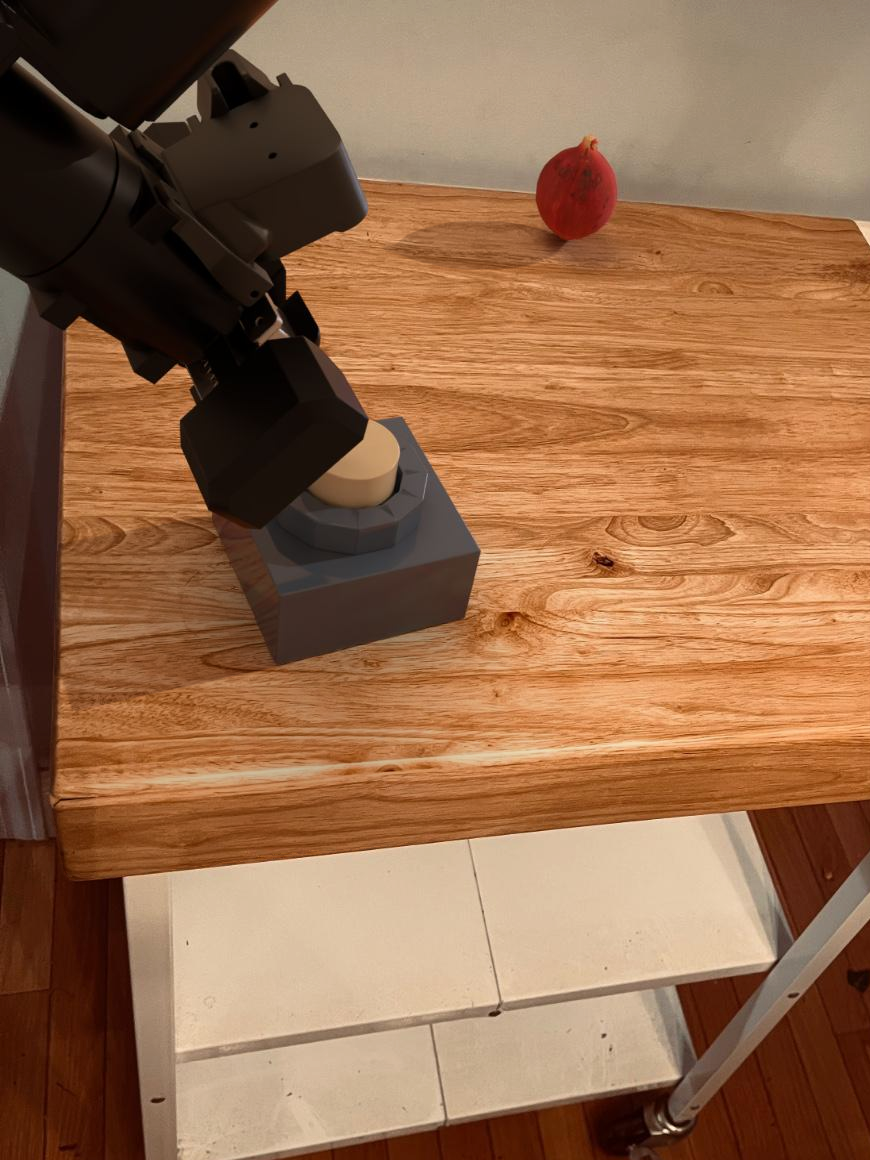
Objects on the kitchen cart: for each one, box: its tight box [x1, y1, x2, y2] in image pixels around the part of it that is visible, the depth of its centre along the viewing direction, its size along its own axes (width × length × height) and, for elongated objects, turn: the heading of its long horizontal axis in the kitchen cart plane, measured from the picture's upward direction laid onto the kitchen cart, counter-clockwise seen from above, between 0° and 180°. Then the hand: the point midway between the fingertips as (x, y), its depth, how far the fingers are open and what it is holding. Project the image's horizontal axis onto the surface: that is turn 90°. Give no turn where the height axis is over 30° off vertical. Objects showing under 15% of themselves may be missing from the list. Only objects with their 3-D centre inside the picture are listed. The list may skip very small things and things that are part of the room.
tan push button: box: [307, 418, 400, 510], centre depth 56 cm, size 4×4×2 cm
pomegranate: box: [534, 134, 618, 242], centre depth 84 cm, size 6×6×8 cm
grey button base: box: [211, 416, 482, 666], centre depth 59 cm, size 10×10×7 cm
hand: (345, 404), depth 53 cm, fingers closed
